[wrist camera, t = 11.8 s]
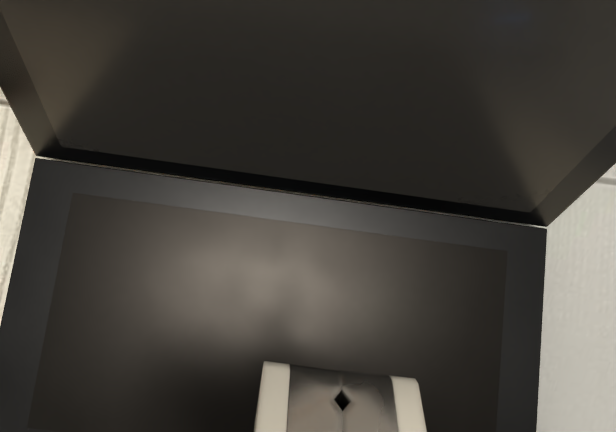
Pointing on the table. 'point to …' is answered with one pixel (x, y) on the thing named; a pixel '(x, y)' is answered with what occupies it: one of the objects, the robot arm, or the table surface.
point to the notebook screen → (328, 95)
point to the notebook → (256, 304)
